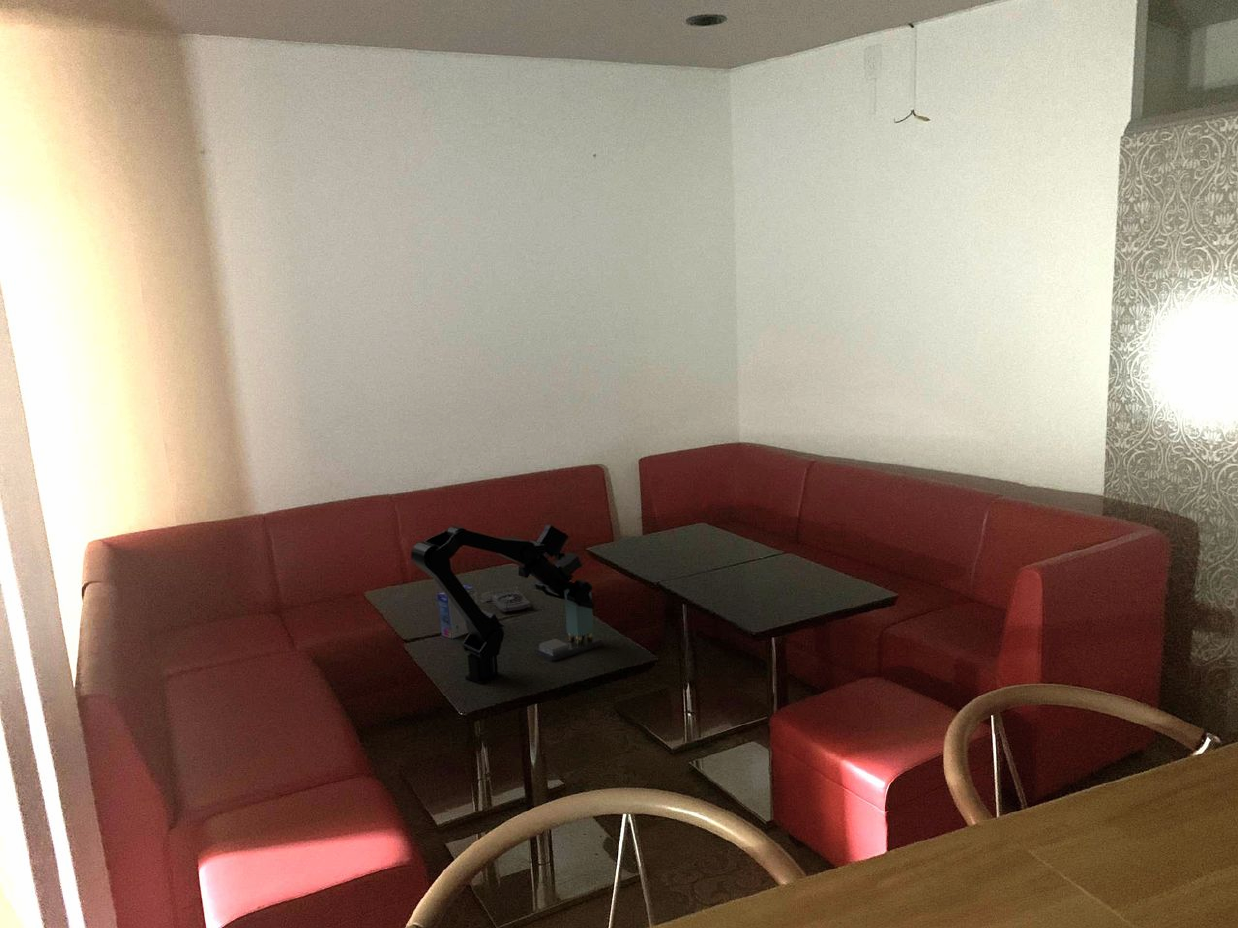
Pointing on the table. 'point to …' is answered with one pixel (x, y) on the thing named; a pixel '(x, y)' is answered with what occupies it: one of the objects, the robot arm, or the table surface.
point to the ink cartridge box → (453, 615)
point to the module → (578, 618)
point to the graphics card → (507, 600)
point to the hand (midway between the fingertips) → (582, 603)
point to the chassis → (566, 646)
